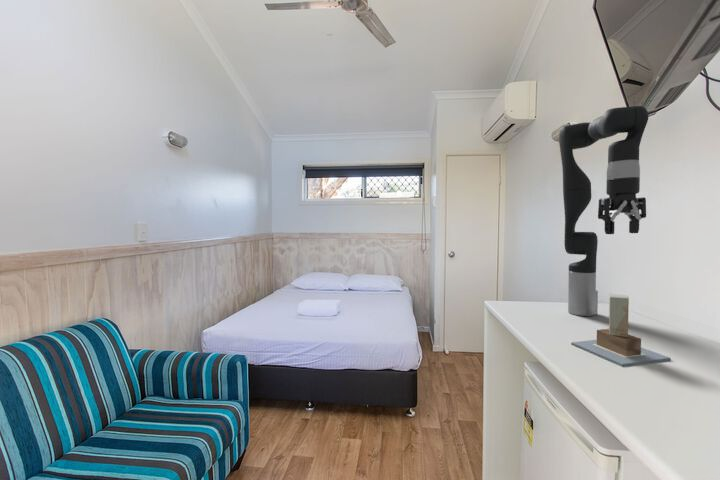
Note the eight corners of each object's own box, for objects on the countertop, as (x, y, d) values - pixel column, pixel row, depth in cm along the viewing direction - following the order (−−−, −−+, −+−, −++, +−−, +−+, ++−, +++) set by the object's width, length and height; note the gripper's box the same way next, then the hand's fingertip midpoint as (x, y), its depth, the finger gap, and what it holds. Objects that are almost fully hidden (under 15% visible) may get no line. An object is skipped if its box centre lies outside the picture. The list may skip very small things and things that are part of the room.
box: (628, 337, 92) (628, 298, 91) (608, 335, 94) (609, 296, 94) (627, 332, 96) (628, 295, 95) (609, 330, 98) (609, 293, 98)
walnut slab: (610, 343, 100) (610, 328, 100) (640, 354, 91) (641, 338, 91) (596, 344, 99) (596, 329, 99) (625, 356, 90) (626, 340, 90)
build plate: (614, 339, 105) (614, 337, 105) (670, 359, 89) (670, 357, 89) (571, 344, 101) (571, 342, 101) (621, 366, 86) (621, 363, 86)
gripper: (630, 179, 100) (628, 232, 101) (590, 179, 97) (589, 234, 98) (656, 176, 93) (655, 233, 94) (614, 175, 90) (613, 234, 91)
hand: (621, 233), depth 96 cm, fingers open, 8 cm apart
